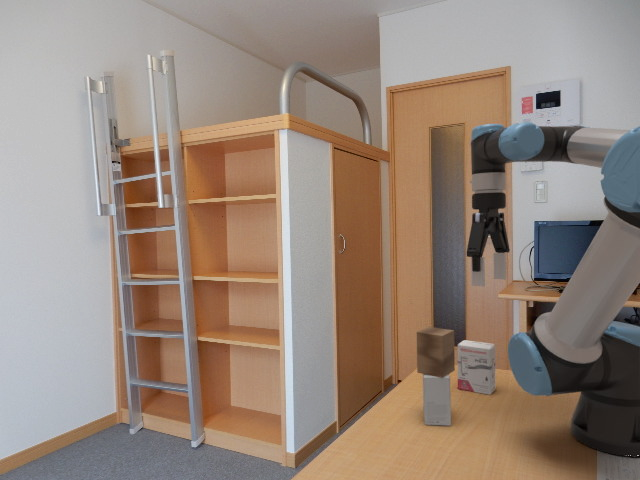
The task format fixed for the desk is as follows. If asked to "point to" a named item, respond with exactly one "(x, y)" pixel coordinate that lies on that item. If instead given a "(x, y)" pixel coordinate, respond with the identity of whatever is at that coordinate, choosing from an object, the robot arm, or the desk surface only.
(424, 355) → the walnut block
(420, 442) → the desk surface
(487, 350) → the ink box
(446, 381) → the small box
